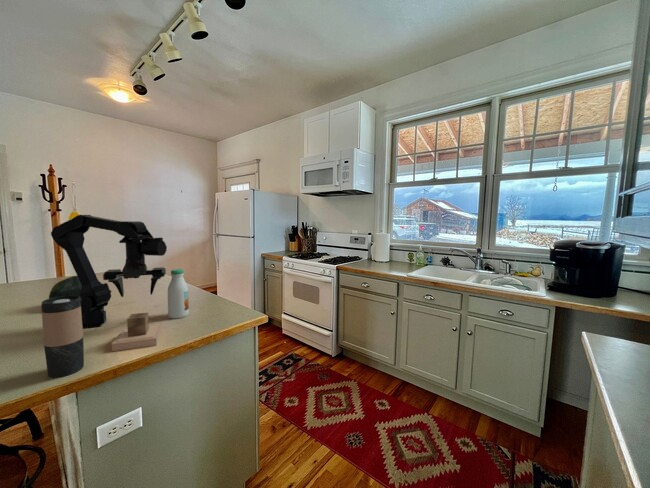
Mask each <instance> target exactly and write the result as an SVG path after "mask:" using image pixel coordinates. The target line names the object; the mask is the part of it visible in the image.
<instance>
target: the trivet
mask: <svg viewBox="0 0 650 488" xmlns="http://www.w3.org/2000/svg"><path fill="white" fill-rule="evenodd" d="M162 333H163V324H154V325H149V330H148V332H147V334H146V335H140V336H132V337H128V328H122V329H121V330H120V332H119V334H118V335H117V336H116V338H114V340H113V342H111V352H118V351H124V350H133V349H139V348H146V347H147V348H149V347H153V346H158V342H159V341H160V337H161V335H162Z"/></svg>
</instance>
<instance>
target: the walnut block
mask: <svg viewBox="0 0 650 488" xmlns="http://www.w3.org/2000/svg"><path fill="white" fill-rule="evenodd" d="M126 325H127V328H128V337H132V336H140V335H146V334H147V332H148V330H149V326H150V324H149V312H141V313H131V314H130V315H129V316H128V317H127V319H126Z"/></svg>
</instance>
